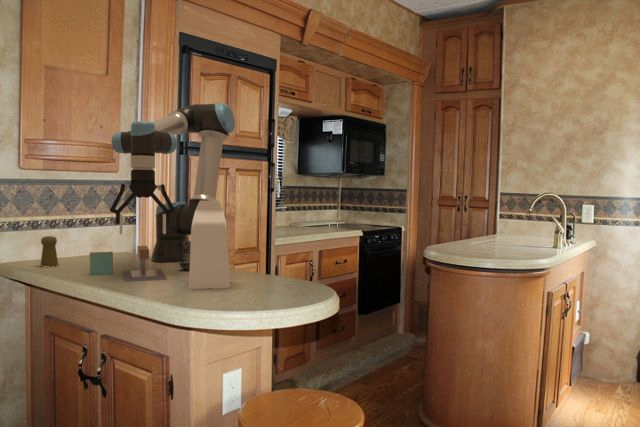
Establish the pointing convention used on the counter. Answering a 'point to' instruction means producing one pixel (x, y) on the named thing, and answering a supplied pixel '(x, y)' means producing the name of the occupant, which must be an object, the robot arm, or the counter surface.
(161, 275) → the mat
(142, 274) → the trowel
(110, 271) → the tile
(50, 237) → the cork
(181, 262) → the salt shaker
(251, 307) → the counter surface
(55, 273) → the counter surface
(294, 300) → the counter surface
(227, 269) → the milk
